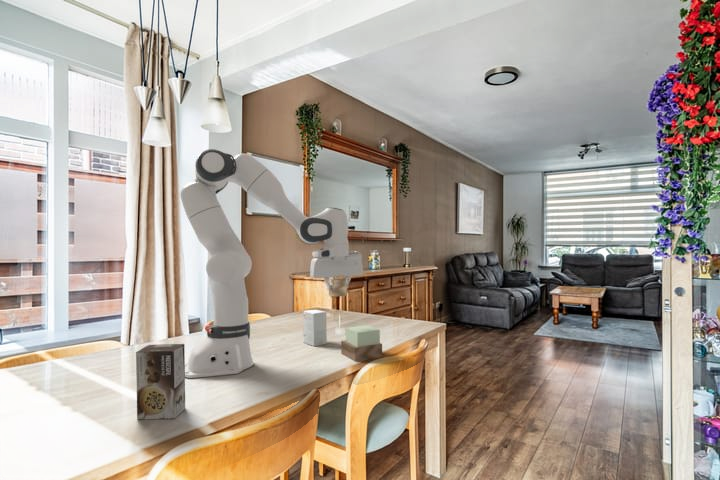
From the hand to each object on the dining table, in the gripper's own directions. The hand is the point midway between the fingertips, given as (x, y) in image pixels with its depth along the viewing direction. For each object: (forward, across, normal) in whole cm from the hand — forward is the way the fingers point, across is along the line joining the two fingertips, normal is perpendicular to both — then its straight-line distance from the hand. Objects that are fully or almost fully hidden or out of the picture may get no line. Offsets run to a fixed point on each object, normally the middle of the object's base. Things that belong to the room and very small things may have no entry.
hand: (337, 289), depth 144 cm
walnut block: (+24, -6, +6) cm, 26 cm away
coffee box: (+23, +59, +25) cm, 68 cm away
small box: (+24, +2, -18) cm, 30 cm away
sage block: (+19, -7, +6) cm, 21 cm away
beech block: (+2, 0, 0) cm, 2 cm away
